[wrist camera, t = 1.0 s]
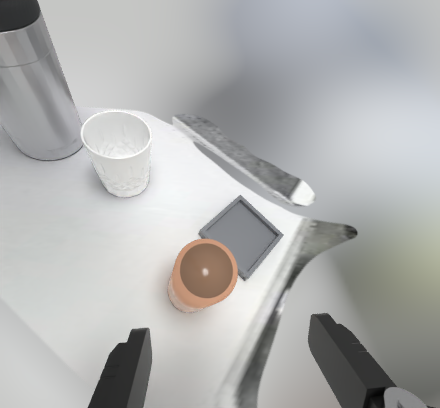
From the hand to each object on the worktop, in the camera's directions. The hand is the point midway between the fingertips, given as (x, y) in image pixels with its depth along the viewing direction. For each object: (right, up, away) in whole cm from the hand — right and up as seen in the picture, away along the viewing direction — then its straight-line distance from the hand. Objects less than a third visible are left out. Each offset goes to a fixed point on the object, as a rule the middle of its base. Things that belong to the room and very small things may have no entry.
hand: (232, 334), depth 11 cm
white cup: (-15, +10, +25) cm, 31 cm away
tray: (+3, +1, +25) cm, 25 cm away
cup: (-4, -5, +19) cm, 20 cm away
